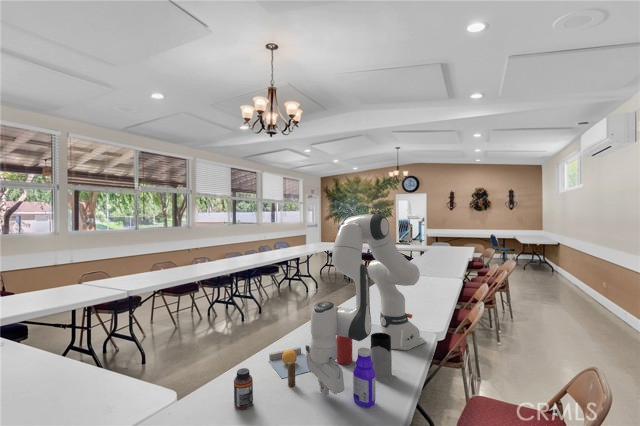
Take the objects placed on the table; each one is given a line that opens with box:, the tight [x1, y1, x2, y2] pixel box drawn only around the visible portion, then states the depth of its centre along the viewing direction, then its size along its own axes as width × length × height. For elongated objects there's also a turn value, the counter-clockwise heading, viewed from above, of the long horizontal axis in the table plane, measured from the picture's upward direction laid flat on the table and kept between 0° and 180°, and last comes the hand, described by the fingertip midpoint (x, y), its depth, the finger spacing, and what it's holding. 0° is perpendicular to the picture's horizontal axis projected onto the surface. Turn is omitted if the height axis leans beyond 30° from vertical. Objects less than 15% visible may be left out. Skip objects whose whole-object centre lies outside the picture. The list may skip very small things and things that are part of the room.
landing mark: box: [267, 352, 311, 380], centre depth 135 cm, size 16×16×1 cm
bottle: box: [352, 347, 376, 409], centre depth 108 cm, size 7×6×17 cm
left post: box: [287, 361, 296, 388], centre depth 119 cm, size 3×3×8 cm
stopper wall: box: [268, 346, 302, 361], centre depth 143 cm, size 14×2×2 cm, turn 117°
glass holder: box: [369, 332, 394, 383], centre depth 128 cm, size 9×14×15 cm, turn 158°
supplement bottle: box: [233, 367, 254, 411], centre depth 107 cm, size 6×6×11 cm
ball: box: [282, 348, 297, 365], centre depth 135 cm, size 6×6×6 cm
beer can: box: [336, 335, 353, 365], centre depth 138 cm, size 7×7×12 cm
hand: (324, 393), depth 111 cm, fingers closed
